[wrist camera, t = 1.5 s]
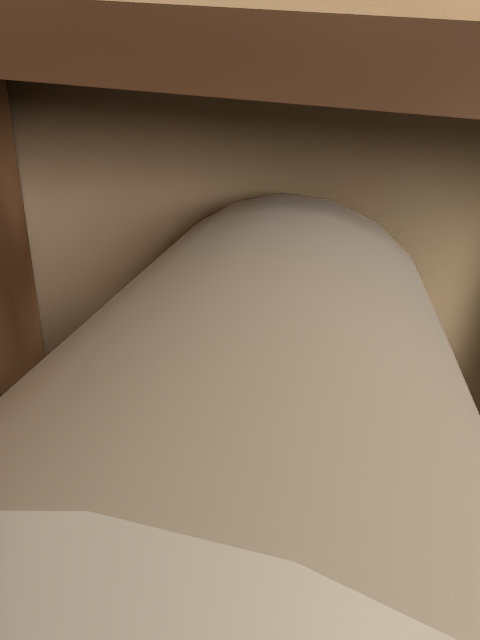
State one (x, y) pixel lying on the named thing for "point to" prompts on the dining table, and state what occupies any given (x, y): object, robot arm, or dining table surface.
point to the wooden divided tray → (211, 87)
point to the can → (247, 448)
